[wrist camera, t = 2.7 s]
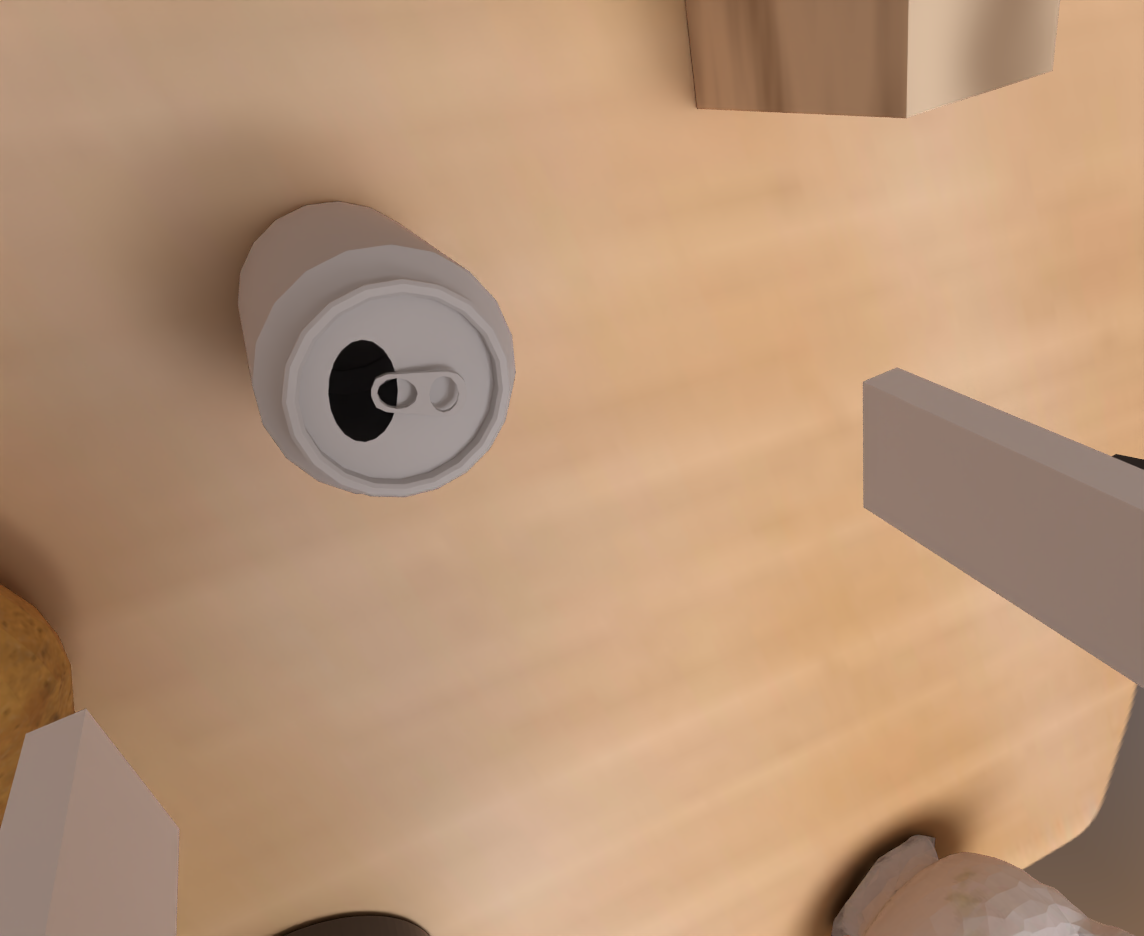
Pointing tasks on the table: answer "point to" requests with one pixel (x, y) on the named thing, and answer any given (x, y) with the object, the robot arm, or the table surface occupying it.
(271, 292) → the can
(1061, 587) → the robot arm
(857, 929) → the ceramic pitcher
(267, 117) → the table surface
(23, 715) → the potato
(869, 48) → the kraft box
